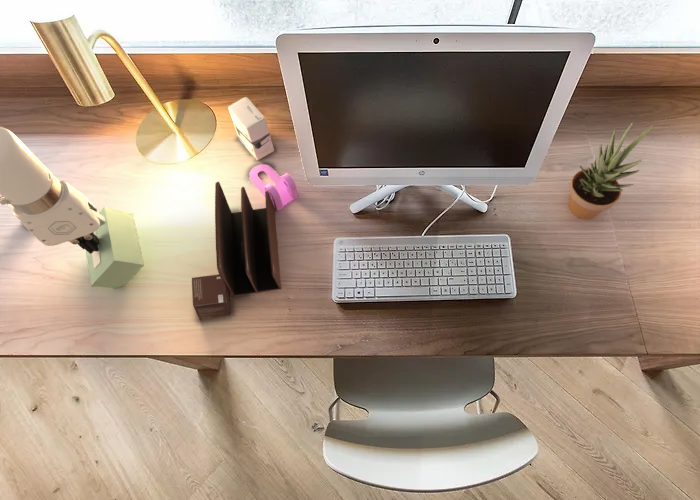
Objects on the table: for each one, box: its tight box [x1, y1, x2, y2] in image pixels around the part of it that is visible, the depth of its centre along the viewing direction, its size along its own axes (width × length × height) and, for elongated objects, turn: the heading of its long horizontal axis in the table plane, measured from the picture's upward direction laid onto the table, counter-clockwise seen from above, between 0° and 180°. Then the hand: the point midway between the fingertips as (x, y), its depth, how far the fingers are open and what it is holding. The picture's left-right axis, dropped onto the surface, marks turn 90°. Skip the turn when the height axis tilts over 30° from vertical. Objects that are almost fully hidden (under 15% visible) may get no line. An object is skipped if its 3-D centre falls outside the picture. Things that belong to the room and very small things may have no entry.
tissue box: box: [85, 206, 145, 290], centre depth 98 cm, size 6×13×9 cm
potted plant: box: [567, 122, 654, 220], centre depth 94 cm, size 10×10×25 cm
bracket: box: [248, 163, 300, 211], centre depth 107 cm, size 13×6×7 cm, turn 39°
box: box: [191, 273, 231, 322], centre depth 94 cm, size 6×6×7 cm
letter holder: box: [214, 181, 282, 297], centre depth 96 cm, size 10×20×14 cm, turn 8°
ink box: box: [227, 96, 275, 161], centre depth 111 cm, size 8×5×12 cm, turn 37°
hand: (93, 246), depth 96 cm, fingers closed
